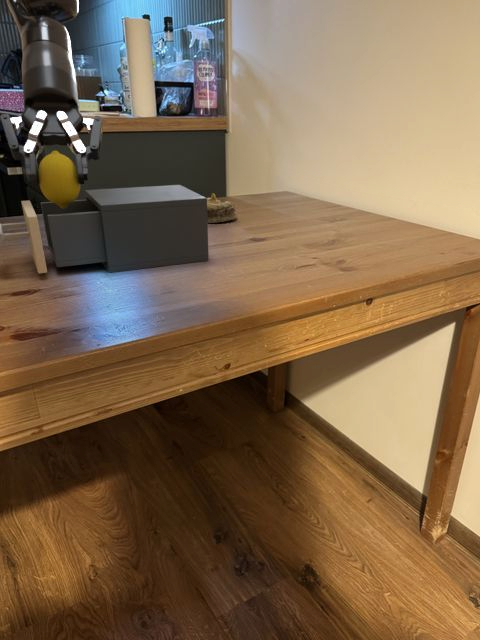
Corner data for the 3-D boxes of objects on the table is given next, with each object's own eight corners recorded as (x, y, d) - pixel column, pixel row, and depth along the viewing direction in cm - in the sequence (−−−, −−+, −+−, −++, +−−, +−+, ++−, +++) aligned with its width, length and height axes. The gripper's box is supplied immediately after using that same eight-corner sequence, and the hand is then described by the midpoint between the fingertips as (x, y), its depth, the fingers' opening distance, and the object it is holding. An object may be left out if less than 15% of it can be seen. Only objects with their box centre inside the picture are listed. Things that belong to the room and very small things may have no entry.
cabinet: (108, 273, 74) (100, 205, 69) (92, 250, 84) (84, 190, 79) (208, 260, 80) (207, 198, 76) (182, 240, 90) (179, 184, 86)
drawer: (1, 278, 68) (-13, 219, 64) (-2, 255, 77) (-14, 203, 73) (141, 261, 76) (136, 208, 72) (123, 242, 85) (118, 194, 81)
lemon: (71, 214, 70) (63, 153, 67) (35, 211, 71) (25, 151, 67) (90, 206, 75) (83, 149, 71) (56, 203, 76) (47, 147, 72)
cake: (214, 229, 101) (211, 202, 98) (181, 221, 106) (178, 195, 104) (247, 217, 107) (245, 191, 104) (214, 210, 113) (212, 186, 110)
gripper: (-10, 60, 69) (-5, 164, 64) (98, 65, 73) (110, 163, 68) (3, 102, 76) (9, 198, 71) (102, 104, 80) (113, 195, 75)
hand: (58, 180), depth 70 cm, fingers closed on lemon, 5 cm apart
